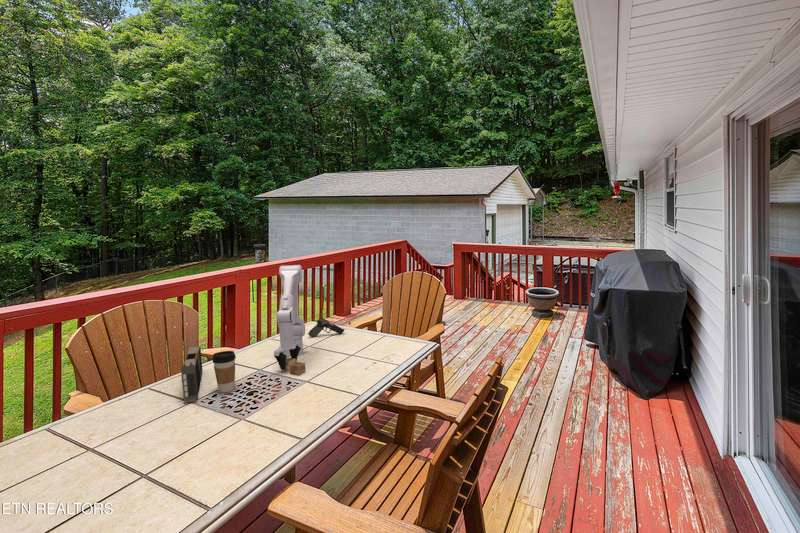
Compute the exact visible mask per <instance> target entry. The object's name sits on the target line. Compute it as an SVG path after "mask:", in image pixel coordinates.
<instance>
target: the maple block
mask: <svg viewBox="0 0 800 533" xmlns="http://www.w3.org/2000/svg"><path fill="white" fill-rule="evenodd" d="M295 362H296V359H294V358H291V357H288V356H287V357H286V362H285V370H284V371H288V372H290V365H291V364H293V363H295Z"/></svg>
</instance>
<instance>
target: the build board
mask: <svg viewBox="0 0 800 533" xmlns="http://www.w3.org/2000/svg"><path fill="white" fill-rule="evenodd" d="M307 373H309V371H307V370H305V373H303V374H301V375H300V376H296V375H291V374H290V372H289V373H288V374H287V376H290V377H295V378H301V377H302V376H304V375H306V374H307Z"/></svg>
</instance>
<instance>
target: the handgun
mask: <svg viewBox="0 0 800 533" xmlns="http://www.w3.org/2000/svg"><path fill="white" fill-rule="evenodd" d="M315 322H316V323H317V324H316V325H314V326H313V327H312V328H311V329H310V330H309V331H308V334H307V335H308V336H310V337H311V338H313V339H315V338H316V337H317V336H318V335H319V334H320V333H321V332H322V331H324V332H325V333H327V334H329V333H331V331H332V332H334V333H336V334H338V335H340V334H341V335H342V334H343V333H344V332H345V328H342V327H340V326H338V325H336V324H334V323H332V322H330V320H329V321H328V320H327V319H325V318H324V317H323V316H322V317H319V319H317V320H315ZM324 328H325V329H324ZM328 329H329V331H327V330H328ZM314 337H315V338H314Z"/></svg>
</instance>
